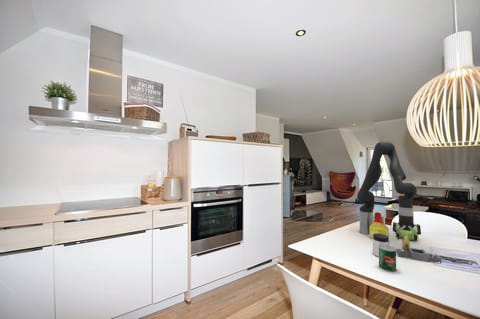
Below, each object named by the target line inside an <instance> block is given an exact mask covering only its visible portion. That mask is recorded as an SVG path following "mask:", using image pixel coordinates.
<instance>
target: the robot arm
mask: <svg viewBox="0 0 480 319" xmlns="http://www.w3.org/2000/svg"><path fill="white" fill-rule="evenodd" d="M382 156H387V157H388V160H389V167H388V169H389V173H390V175H391V177H392V179H393V185H394V190H395V191H396V193H397V194H399V195H403V196H402V197H399V198H398V213H397V214H398V222H396V221H393V222H392V232H393V233H395V232H396V234H395V238H397V239H398V240H400V237H399V232H400V231H402V230H407V231H410V230H411V231H412V232H413V233H414V240H413V241H414V242H417V241H418V239H417V235H418V236H419V235H422V229H421V225H420V224H419V223H417V224H415V222H414V218H415V217H414V206H413V200H414V199H415V195H416V189H417V188H416V185H414V184H413V183H411V182H403V181H405V180H406V179H407V176H406V174H405V172H404V170H403V167H402V165H401V163H400V161H399V157H398V154H397V150H396V148H395V145H394V143H392V142H387V141H379V142H377V143H376V144H375V145H374V148H373V152H372V157H371V159H370V162H369V166H368V169H367V171H366V174H365V177H364V180H363V182H362V184H361V185H360V188H359V190H358V192H357V195H356V199H357V201H358V203H361V204H362V205H361V206H360V207H359V233H360V234H363V235H369V236H370V230H369V227H370V225H371V224H372V223H373V222H374V208H375V194H374V193H373V192H372V191H371V189H372V187H374V186H375V185H376V184H377V183H378V182H379V181H380V178H381V176H382V173H383V170H382V166H381V159H382ZM397 225H399V226H400V227H399V228H398V229H397V230H396V226H397ZM414 227H416V228H417V232H415V231H414V230H413V228H414Z"/></svg>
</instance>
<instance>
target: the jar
mask: <svg viewBox="0 0 480 319" xmlns="http://www.w3.org/2000/svg"><path fill="white" fill-rule="evenodd" d="M389 238H390V237H388V236H387V235H384V234H373V238H372V255H373V256H375V257H377V258H379V246H380V245H387V246H390V239H389Z"/></svg>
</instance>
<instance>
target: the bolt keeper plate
mask: <svg viewBox="0 0 480 319" xmlns="http://www.w3.org/2000/svg"><path fill="white" fill-rule="evenodd" d="M395 249H396V256H398V257H399V258H405V259H410V260H414V261H419V262H426V263H429V262H430V263H435V262H440V263H439V264H441V263H442V262H443V261H442V258H441V257H440V256H439V255H438V254H437V253H429V252H426V251H425V249H421V248H413V247H410V248H408V250H403V249H402V248H401V249H400V248H395Z"/></svg>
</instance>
